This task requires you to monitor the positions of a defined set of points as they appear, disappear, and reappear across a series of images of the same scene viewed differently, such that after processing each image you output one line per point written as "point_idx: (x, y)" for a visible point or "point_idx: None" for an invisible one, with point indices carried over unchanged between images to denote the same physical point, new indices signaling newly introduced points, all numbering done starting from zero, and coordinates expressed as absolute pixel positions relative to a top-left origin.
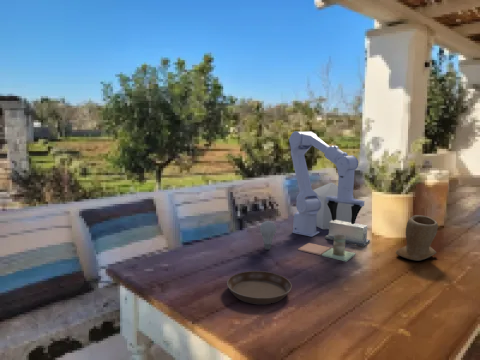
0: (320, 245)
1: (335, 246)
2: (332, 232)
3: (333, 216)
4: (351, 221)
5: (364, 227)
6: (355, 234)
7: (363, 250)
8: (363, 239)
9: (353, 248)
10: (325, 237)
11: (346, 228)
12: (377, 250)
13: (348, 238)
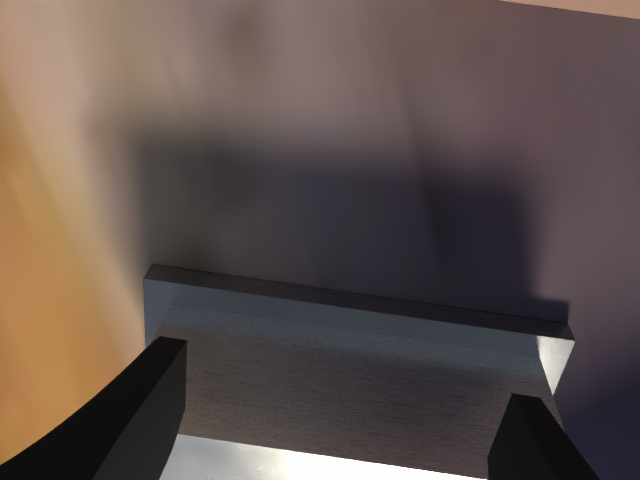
0: (592, 10)
1: None
2: (505, 386)
3: (539, 445)
4: (166, 360)
5: None
6: (229, 365)
7: (112, 149)
8: None
9: (218, 159)
10: (567, 331)
11: (336, 421)
12: (9, 218)
13: (314, 336)
